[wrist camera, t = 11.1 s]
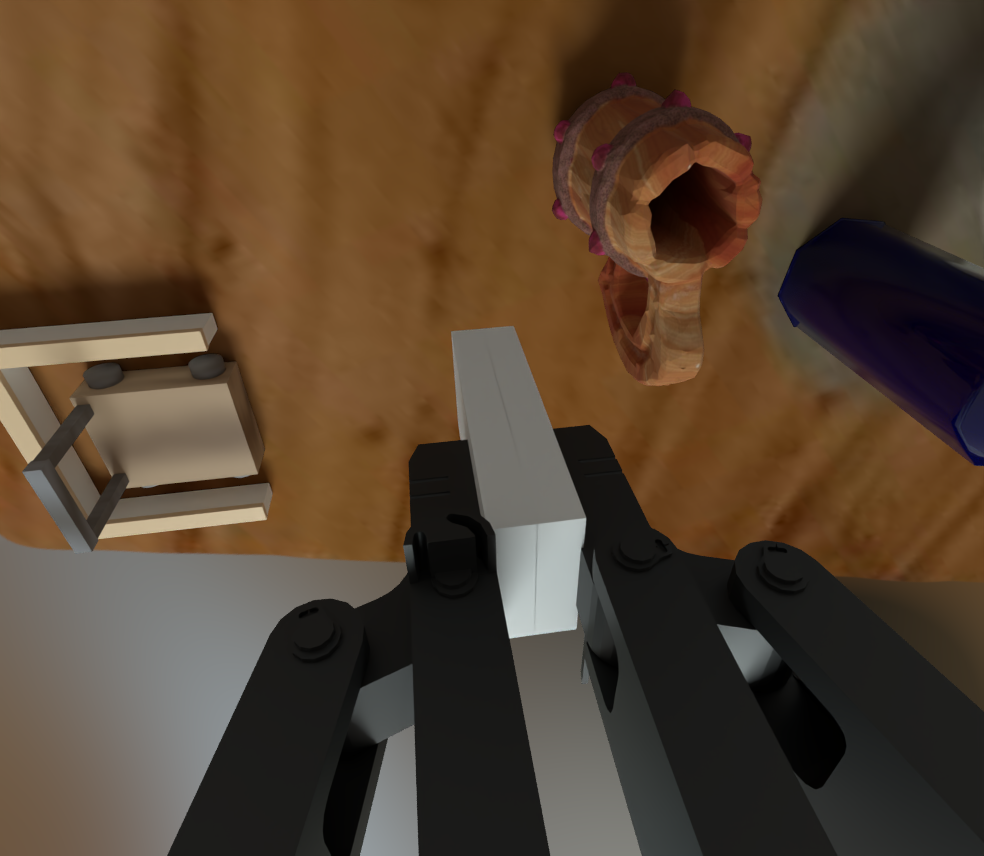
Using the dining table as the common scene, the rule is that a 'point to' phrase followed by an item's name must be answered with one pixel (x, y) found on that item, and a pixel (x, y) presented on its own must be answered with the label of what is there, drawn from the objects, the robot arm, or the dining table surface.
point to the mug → (655, 215)
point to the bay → (31, 423)
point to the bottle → (898, 322)
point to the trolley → (150, 436)
